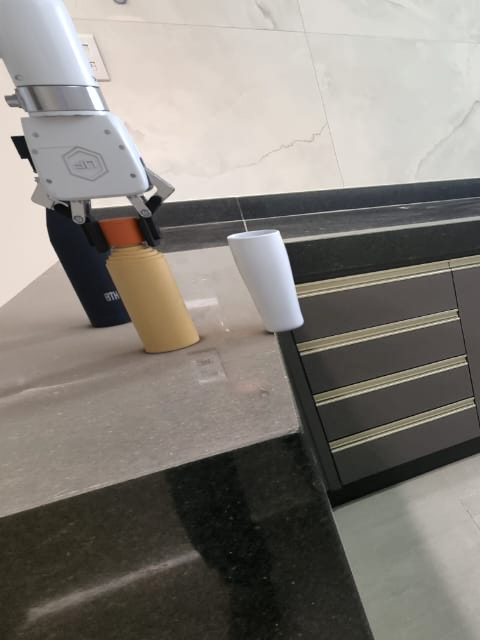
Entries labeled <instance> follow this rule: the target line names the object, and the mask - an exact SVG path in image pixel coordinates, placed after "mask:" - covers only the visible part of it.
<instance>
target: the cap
mask: <svg viewBox="0 0 480 640" xmlns="http://www.w3.org/2000/svg"><path fill="white" fill-rule="evenodd" d="M98 222H99V224H100V227H101V229H102V231H103V233H104V235H105V238H106V240H107V242H108V244H109V246H111V247H116V246H121V245H130V244H136V243H141V242H142V243H145V242H147V241H146V239H145V237H144V235H143V232H142V230H141V228H140V225H139V223H138V216H122V217H121V216H119V217H111V218H105V219H100V220H98Z"/></svg>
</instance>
